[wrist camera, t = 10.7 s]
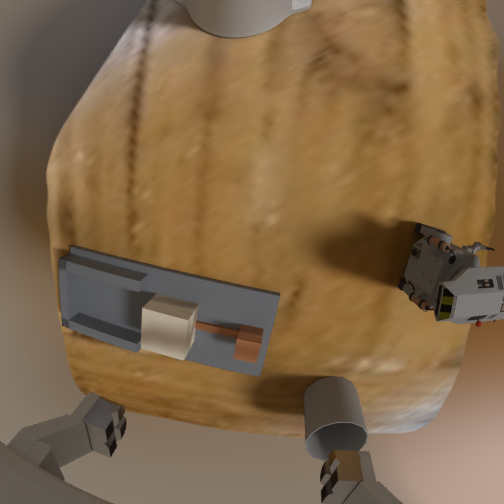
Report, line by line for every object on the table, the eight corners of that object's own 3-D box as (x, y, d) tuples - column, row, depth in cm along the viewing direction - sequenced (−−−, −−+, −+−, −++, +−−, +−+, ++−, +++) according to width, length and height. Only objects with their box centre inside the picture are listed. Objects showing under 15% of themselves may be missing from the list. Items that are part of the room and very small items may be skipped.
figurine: (453, 299, 39) (507, 349, 24) (387, 284, 39) (430, 339, 25) (473, 238, 36) (539, 270, 22) (406, 217, 37) (465, 243, 22)
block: (156, 293, 42) (142, 307, 37) (266, 318, 41) (263, 337, 36) (154, 330, 43) (140, 347, 39) (257, 356, 43) (253, 377, 38)
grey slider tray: (74, 245, 43) (58, 251, 39) (280, 293, 41) (279, 305, 37) (75, 320, 46) (62, 331, 42) (260, 372, 44) (258, 389, 41)
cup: (340, 420, 46) (347, 464, 36) (295, 409, 46) (295, 455, 36) (365, 382, 43) (379, 427, 34) (317, 370, 44) (323, 416, 34)
